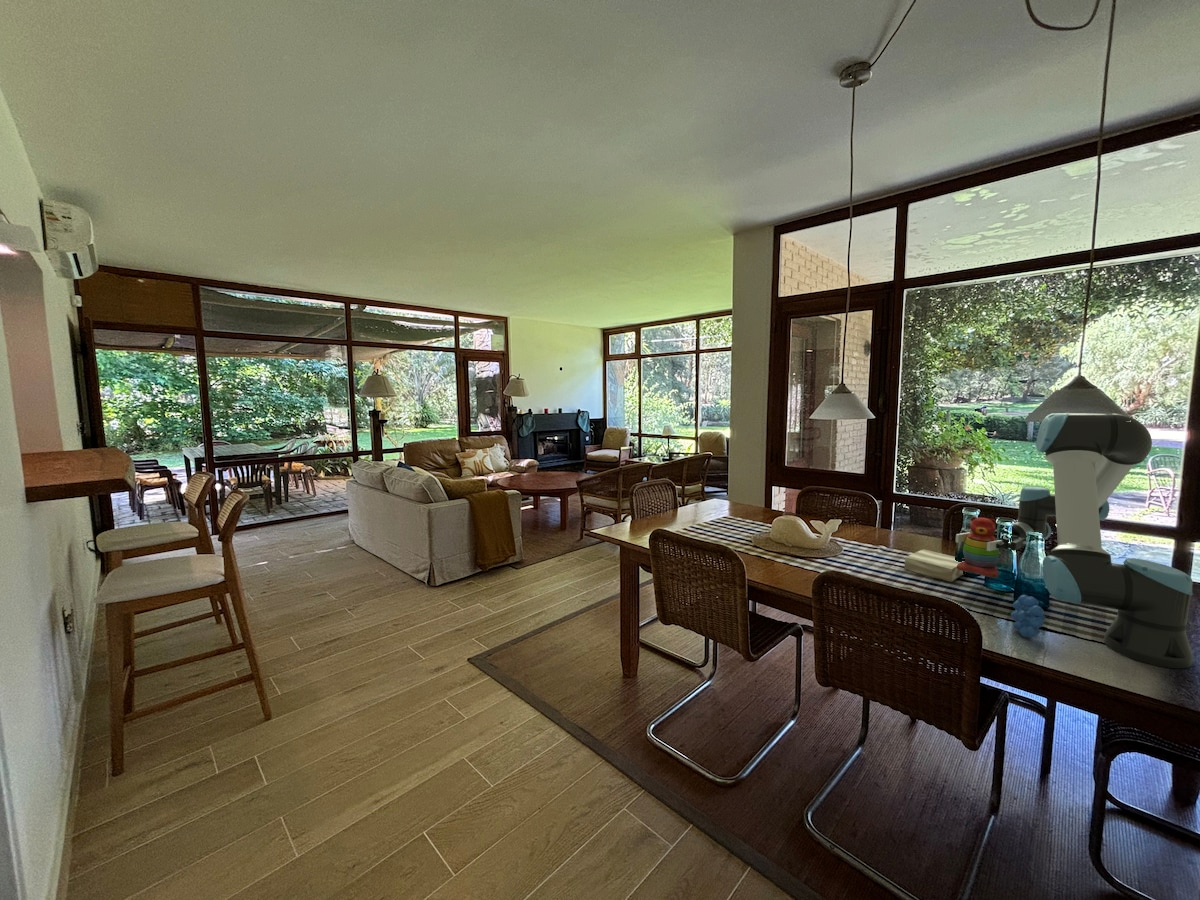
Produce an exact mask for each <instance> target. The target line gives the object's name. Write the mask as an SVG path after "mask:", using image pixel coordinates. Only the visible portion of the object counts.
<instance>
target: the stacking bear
mask: <svg viewBox="0 0 1200 900" xmlns="http://www.w3.org/2000/svg"><path fill="white" fill-rule="evenodd" d="M996 524H997V521H996V520H995V519H994V518H986V517H976V516H972V517H971V518H970V523H969V528H970V529H971V531H972V533H971V534H969V535H968V537H967V538H966V540H965V542H963V547H962V554H963V559H965V561H962V562H960V563H959V564H958V565H957V569H958V570H961V571H965V572H967V573H974V574H977V575H981V576H984V577H987V578H988V577H989V578H998V577H999V570H998V568H997V567H996V565H997V562H998V560H999V556H1000V555H999V554H1000V549H997V550H992V551H987V542H991V541H996V538H995V537H994V536H992V535H993V534H994V533H995V530H996V529H997V527H996Z"/></svg>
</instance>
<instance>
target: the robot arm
mask: <svg viewBox="0 0 1200 900" xmlns="http://www.w3.org/2000/svg"><path fill="white" fill-rule="evenodd" d="M1129 417H1130V418H1129ZM1130 420H1131V422H1126V421H1130ZM1035 443H1036V444H1035V445H1036V446H1035V447H1036V451H1037V452H1039V453H1042V454H1044V453H1045V454H1044V455H1045V460H1046V461H1047V462H1049V464H1051V465H1052V466H1053V467H1052V468H1053V484H1054V486H1053V487H1054V488H1053V489H1054V493H1051V492H1050V489H1049V488H1046V487H1042V486H1030V485H1029V486H1023V487H1021V489H1020V495H1019V502H1018V503H1019V504H1018V515H1017V522H1012V524H1013V526H1012V536H1011V538H1012V542H1011V543H1008V542H1009V538H1006V537H1004V539H1003V540H996V541H991V542H987V551H992V550H997V549H999V550H1003V549H1004V550H1008V549H1009V550H1010V551H1014V552H1015V551H1017V550H1018V549H1021V548H1022V547H1026V546H1025V544H1026V532H1027V531H1033V532H1039V533H1042V534H1043V538H1044V540H1043V541H1045V540H1047V539H1048V538H1050V537H1051V535H1052V528H1051V526H1050V525H1049V523H1048V522H1047V520H1048V517H1049V516H1050V517H1055V520H1056V521H1055V522H1056V534H1057V535H1056V536H1057V537H1056V541H1057V546H1055V547H1054V548H1052V549H1051V550H1050V555H1047V556H1046V555H1045V557H1044V558H1043V559H1042V567H1041V569H1042V578H1043V581H1044V584H1045V586H1046V589H1047V591H1048V592H1049V594H1050V595H1051V596H1052V597H1053V598H1054V599H1056V600H1057V601H1062V602H1067V603H1072V604H1074V605H1085V606H1092V607H1098V608H1106V609H1113V610H1117V615H1116V617H1115V618H1114V620H1113V621H1112V622H1111V624H1110V625H1109V627H1108V628H1107V629H1106V631H1105V633H1104V640H1103V642H1104V644H1105V645H1106V646H1107V647H1108V648H1110V649H1111V650H1113V651H1115V652H1116V653H1118V654H1120V655H1122V656H1125V657H1128V658H1131V659H1132V660H1136V661H1139V662H1143V663H1146V664H1149V665H1153V666H1158V667H1162V668H1163V667H1164V668H1170V669H1187V668H1190V667H1192V666H1193V661H1194V656H1193V651H1192V648H1191V646H1190V642H1189V639H1188V636H1187V623H1188V618H1189V613H1190V612H1189V611H1190V607H1191V602H1192V596H1193V594H1194V593H1193V579H1192V577H1191V576H1190V575H1189V574H1187V573H1186V572H1184V571H1182V570H1180V569H1177V568H1174V567H1172V566H1169V565H1166V564H1163V563H1160V562H1155V561H1151V560H1147V559H1140V558H1131V557H1130V558H1125V559H1124V561H1123V562H1122V564H1121V563H1112V556H1111V553H1109V552H1107V551H1106V550H1105V549H1104V548H1103V547H1102V546H1103V545H1102V535H1101V533H1102V532H1101V523H1100V522H1101V521H1103V520H1106V519H1107V518H1108V517H1109V513H1110V504H1109V503H1110V502H1109V501H1108V499H1109V497H1111V496H1112V494H1113V493H1114V491H1116V489H1117V488H1118V487H1119V485H1120V484H1121V483H1122V481H1123V480H1124V479H1125V477H1126V476H1127V475H1128V474H1129V472H1130V471H1131V470H1132V468H1134V466H1135V465H1138V464H1140V463H1142V462H1144V461H1145V460H1146V458H1147V457H1148V455H1149V454H1150V452H1151V450H1152V447H1153V446H1152V445H1153V440H1152V436H1151V434H1150V432H1149V430H1148V428H1147V427H1146V426H1145V425H1144V424H1143V423H1142V422H1140V421H1139V420H1137V419H1136V418H1133V417H1131V416H1128V415H1125V414H1121V413H1079V412H1078V413H1077V412H1075V413H1074V412H1062V413H1050V414H1047V416H1045V417H1044V418H1043V419H1042V422H1041V424H1040V426H1039V429H1038V432H1037V435H1036V442H1035ZM971 533H972V531H971V529H961V531H960V533H956V534H955V543H957V544H958V543H965V540H966V538H967V537H968V535H969V534H971ZM992 536H994V537H995V538H997V528H996V530H995V533H994V534H993V535H992ZM1002 541H1003V542H1002Z"/></svg>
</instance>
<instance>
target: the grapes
mask: <svg viewBox="0 0 1200 900" xmlns="http://www.w3.org/2000/svg"><path fill="white" fill-rule="evenodd" d="M1011 605H1012V607H1013V608H1014V609H1015V610H1013V611H1012V612H1011V613H1010V617H1011V618H1012V619H1013V620H1014V621H1015V622H1014V623H1013V627H1014V628H1015V629H1016V630H1017V631H1018V633H1020V635H1021V636H1022V637H1024V638H1030V637H1036V636H1038V635H1039V634H1040V633H1041V630H1040V629H1039V628H1042V627H1043V626H1044V624H1045V620H1046V619H1047V617H1046V616H1045V614H1044V612H1045V611H1044V608H1042V607H1041V606H1040V605H1039V601H1038V599H1037V598H1036V597H1034V596H1029V595H1027V594H1022V595H1020V596H1019V597H1018V598H1017V600H1015V601H1014V602H1013V603H1012V604H1011Z"/></svg>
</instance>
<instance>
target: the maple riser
mask: <svg viewBox="0 0 1200 900" xmlns="http://www.w3.org/2000/svg"><path fill="white" fill-rule="evenodd" d="M955 557H956V556H953V555H949V554H945V553H940V552H936V551H932V550H929V549H924V548H923V549H921V550H918V551H916V552H913V553H912V554H910V555H907V556H906V557H905V558H904V570H907V571H910V572H914V573H917V574H922V575H924V576H928V577H932V578H936V579H939V580H942V579H943V581H946V580H947V582H950V581H951V582H953V581H955V580H956V579H958V578H960V577H961V576H964V574H963V571H961V570H958V569H957V565H958V564H959V563H960V562H958V561H956V560H955Z"/></svg>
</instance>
